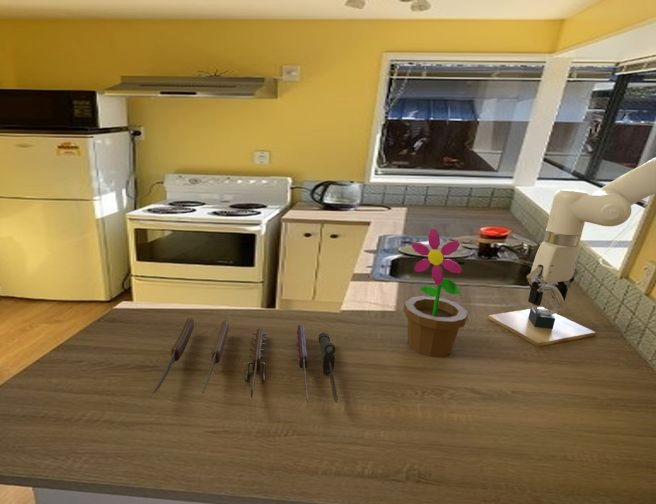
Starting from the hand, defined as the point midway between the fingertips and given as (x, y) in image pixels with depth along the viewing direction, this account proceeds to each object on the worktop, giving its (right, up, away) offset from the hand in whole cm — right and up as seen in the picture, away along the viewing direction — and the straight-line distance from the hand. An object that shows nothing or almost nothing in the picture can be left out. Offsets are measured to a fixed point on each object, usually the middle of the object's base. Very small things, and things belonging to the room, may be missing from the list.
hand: (546, 301), depth 113 cm
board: (0, -7, +2) cm, 7 cm away
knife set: (-77, -13, -22) cm, 81 cm away
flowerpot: (-34, -10, -9) cm, 37 cm away
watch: (0, -6, +2) cm, 7 cm away
